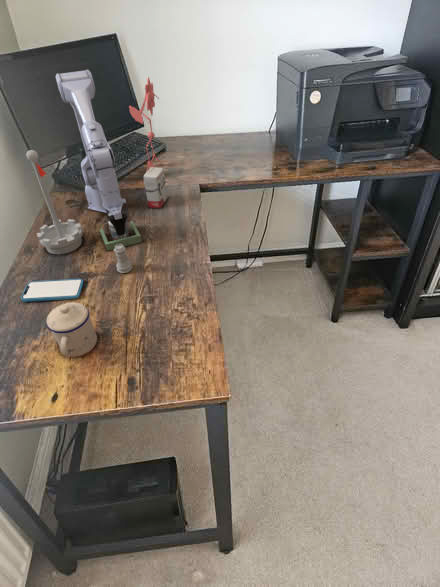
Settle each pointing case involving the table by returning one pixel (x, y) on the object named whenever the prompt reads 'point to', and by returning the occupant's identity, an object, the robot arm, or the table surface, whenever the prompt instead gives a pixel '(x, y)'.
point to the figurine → (138, 117)
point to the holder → (124, 241)
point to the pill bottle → (114, 233)
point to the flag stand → (55, 221)
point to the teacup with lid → (72, 329)
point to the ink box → (155, 187)
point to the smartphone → (52, 290)
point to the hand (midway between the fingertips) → (118, 228)
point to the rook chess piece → (122, 259)
